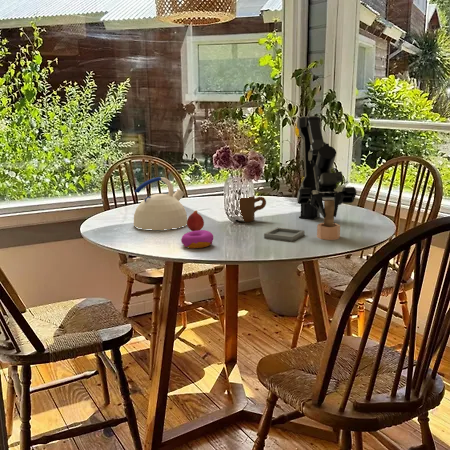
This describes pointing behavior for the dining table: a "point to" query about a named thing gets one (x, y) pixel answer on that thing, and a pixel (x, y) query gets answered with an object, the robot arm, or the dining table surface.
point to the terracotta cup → (328, 231)
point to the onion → (195, 221)
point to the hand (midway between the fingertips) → (330, 216)
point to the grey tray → (284, 234)
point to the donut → (197, 239)
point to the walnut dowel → (329, 213)
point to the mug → (250, 207)
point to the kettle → (160, 209)
